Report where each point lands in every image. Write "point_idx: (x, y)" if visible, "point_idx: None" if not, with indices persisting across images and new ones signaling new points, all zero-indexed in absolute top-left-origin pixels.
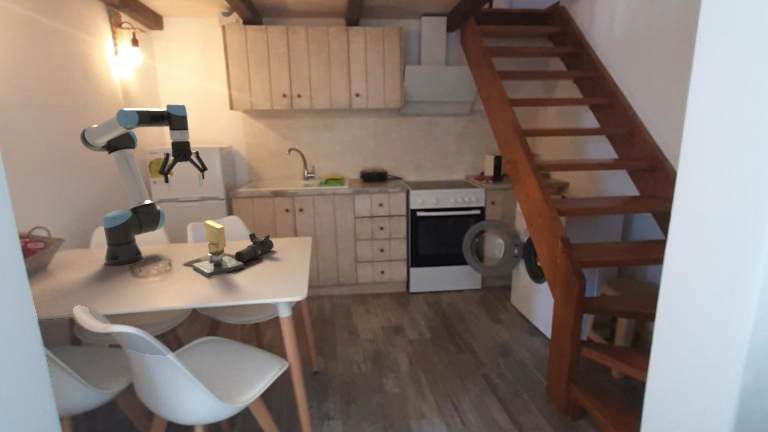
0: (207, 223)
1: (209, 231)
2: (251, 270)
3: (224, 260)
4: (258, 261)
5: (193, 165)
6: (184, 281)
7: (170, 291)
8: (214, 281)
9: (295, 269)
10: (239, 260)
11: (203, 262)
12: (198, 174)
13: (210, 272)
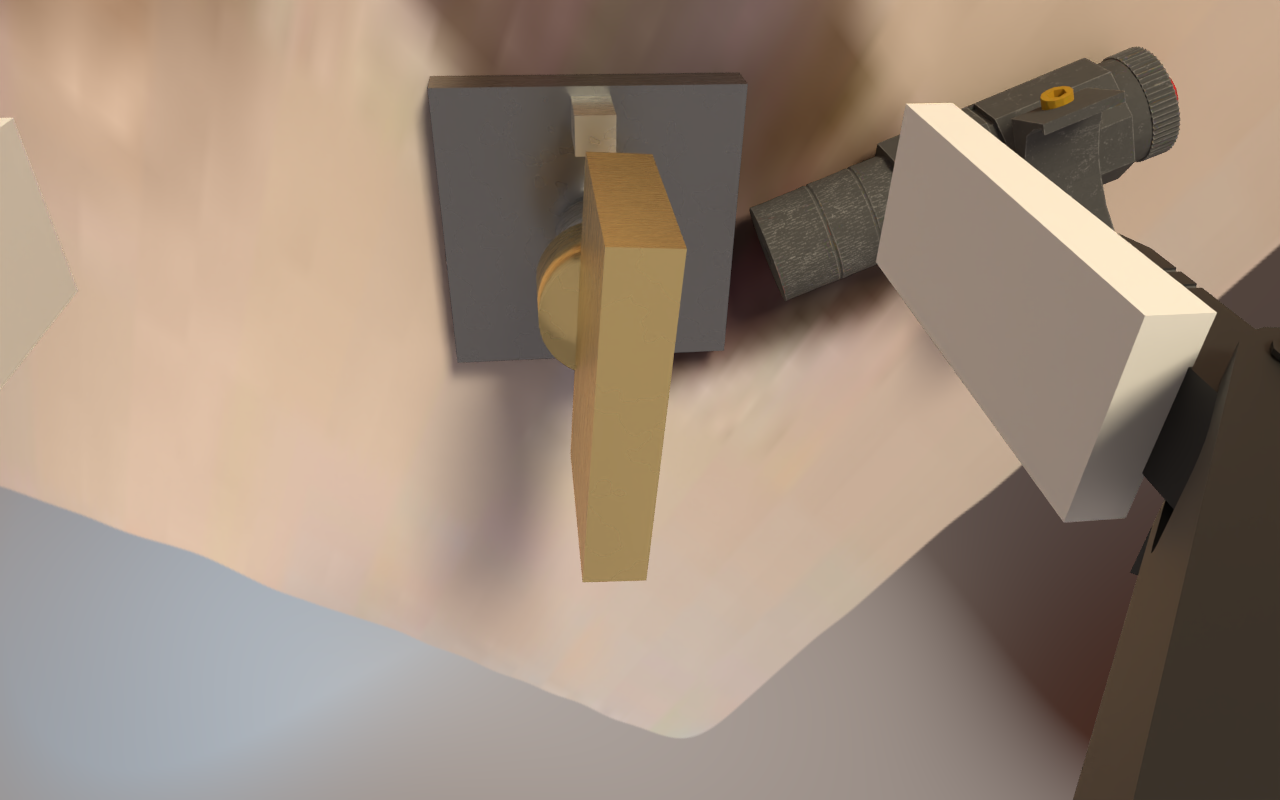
0: (597, 355)
1: (588, 341)
2: (721, 406)
3: None
4: (860, 287)
5: (1152, 656)
6: (303, 308)
7: (193, 407)
8: (466, 426)
9: (887, 537)
10: (759, 237)
11: (517, 114)
12: (1078, 325)
13: (477, 361)
